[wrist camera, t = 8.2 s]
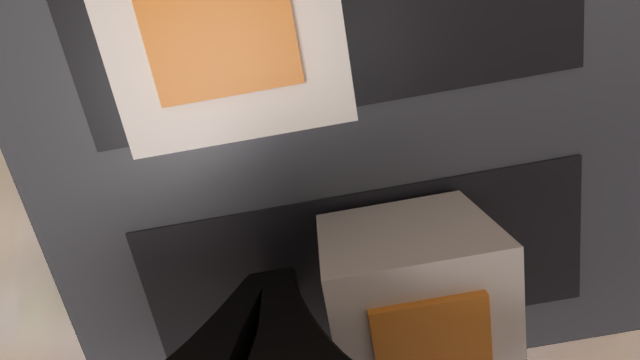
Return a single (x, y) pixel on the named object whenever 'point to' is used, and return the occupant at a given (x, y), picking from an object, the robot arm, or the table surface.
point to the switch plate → (339, 165)
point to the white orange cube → (222, 69)
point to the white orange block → (422, 281)
